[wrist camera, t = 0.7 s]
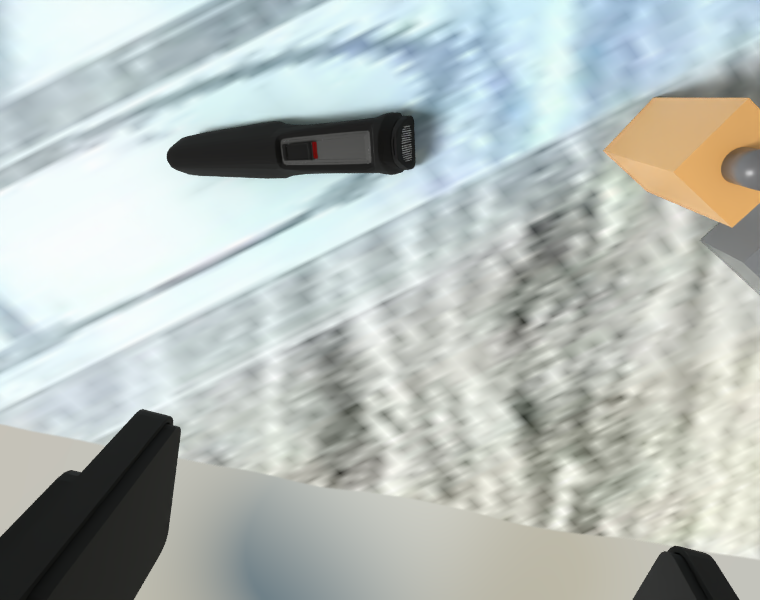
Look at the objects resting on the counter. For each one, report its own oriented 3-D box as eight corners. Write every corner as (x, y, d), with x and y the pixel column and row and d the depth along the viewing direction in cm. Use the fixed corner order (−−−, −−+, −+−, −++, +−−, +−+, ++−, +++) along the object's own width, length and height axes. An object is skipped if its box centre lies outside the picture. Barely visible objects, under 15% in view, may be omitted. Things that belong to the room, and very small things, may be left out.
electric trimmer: (181, 123, 35) (158, 126, 32) (413, 110, 33) (411, 112, 30) (192, 180, 36) (170, 188, 33) (415, 171, 35) (414, 178, 32)
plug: (653, 97, 31) (778, 97, 20) (698, 140, 32) (843, 164, 21) (603, 150, 33) (694, 178, 22) (647, 191, 33) (757, 238, 22)
